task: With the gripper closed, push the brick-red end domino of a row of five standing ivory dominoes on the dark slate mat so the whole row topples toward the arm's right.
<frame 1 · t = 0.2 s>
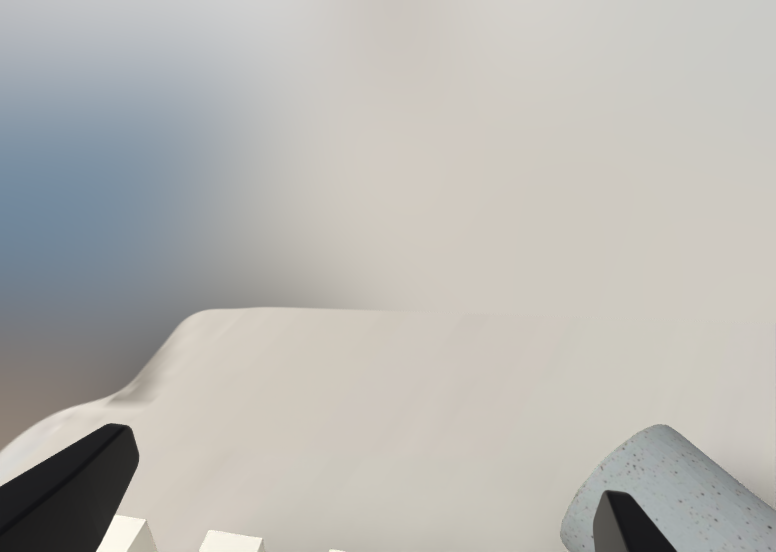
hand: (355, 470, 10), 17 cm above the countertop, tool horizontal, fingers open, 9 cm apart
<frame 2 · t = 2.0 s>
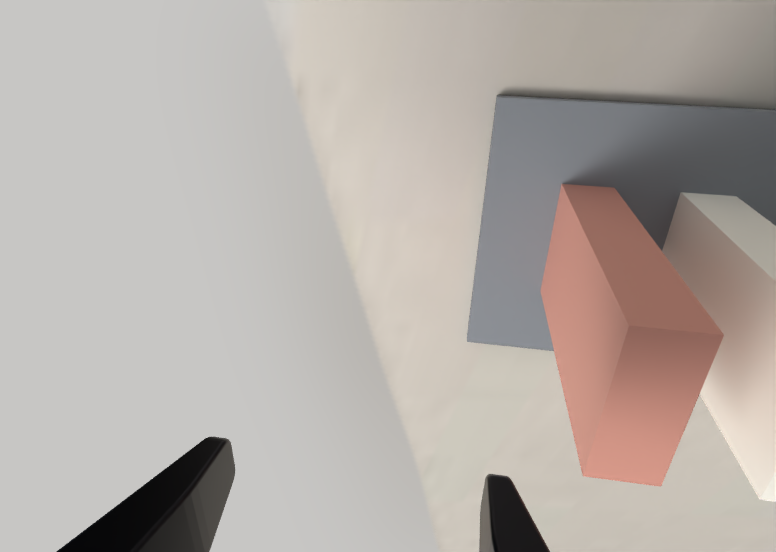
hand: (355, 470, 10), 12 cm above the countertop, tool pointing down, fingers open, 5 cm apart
domino 2: (688, 251, 19), resting on slate mat
domino 1: (575, 242, 19), resting on slate mat
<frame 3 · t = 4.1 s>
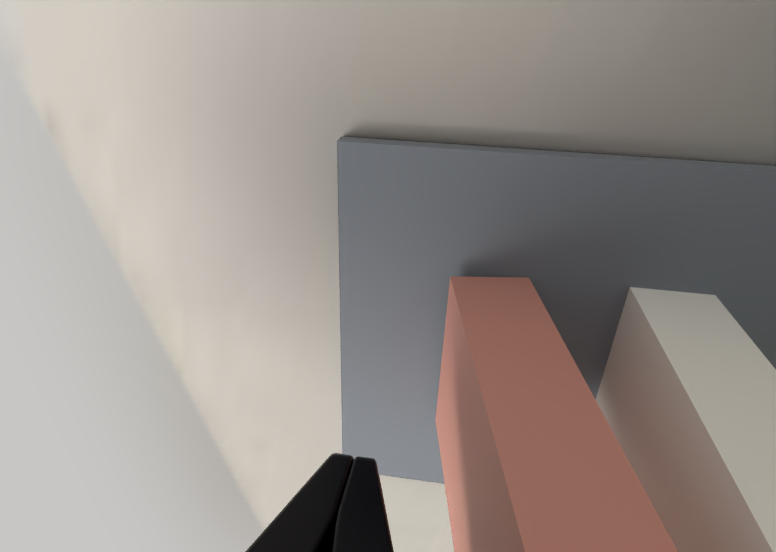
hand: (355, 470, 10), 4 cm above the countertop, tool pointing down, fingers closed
domino 2: (644, 369, 12), resting on slate mat
domino 1: (478, 354, 13), point 1 cm above the countertop, tilted 10°, touching gripper, slate mat
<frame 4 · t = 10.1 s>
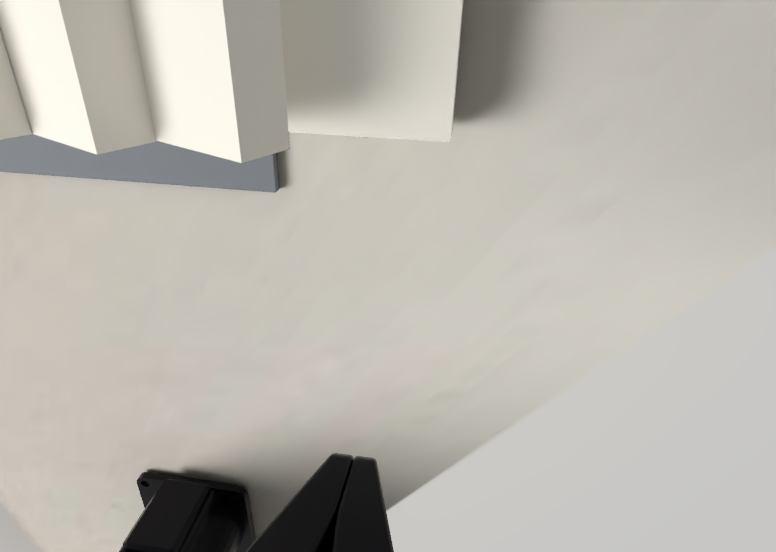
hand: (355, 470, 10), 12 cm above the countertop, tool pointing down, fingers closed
domino 5: (184, 51, 17), point 1 cm above the countertop, tilted 90°, touching domino 4, slate mat
domino 4: (72, 45, 17), point 1 cm above the countertop, tilted 64°, touching domino 3, domino 5
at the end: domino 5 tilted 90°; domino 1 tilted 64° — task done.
